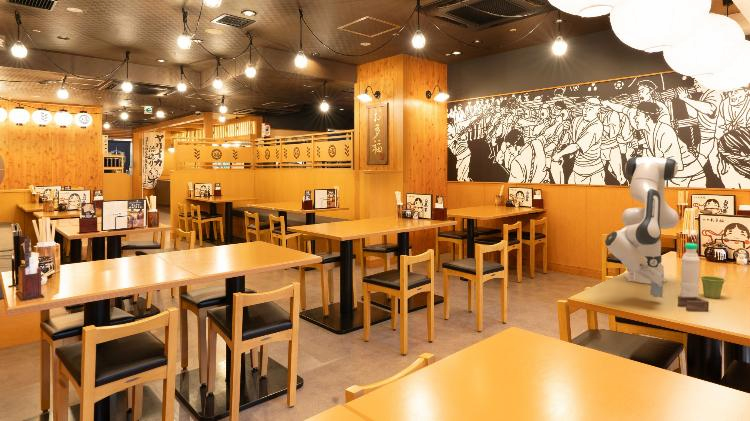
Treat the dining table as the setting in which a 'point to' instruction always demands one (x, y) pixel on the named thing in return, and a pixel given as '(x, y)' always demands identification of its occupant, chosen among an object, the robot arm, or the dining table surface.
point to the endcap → (693, 303)
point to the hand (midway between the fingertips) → (658, 283)
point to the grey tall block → (656, 289)
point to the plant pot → (712, 286)
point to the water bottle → (690, 272)
